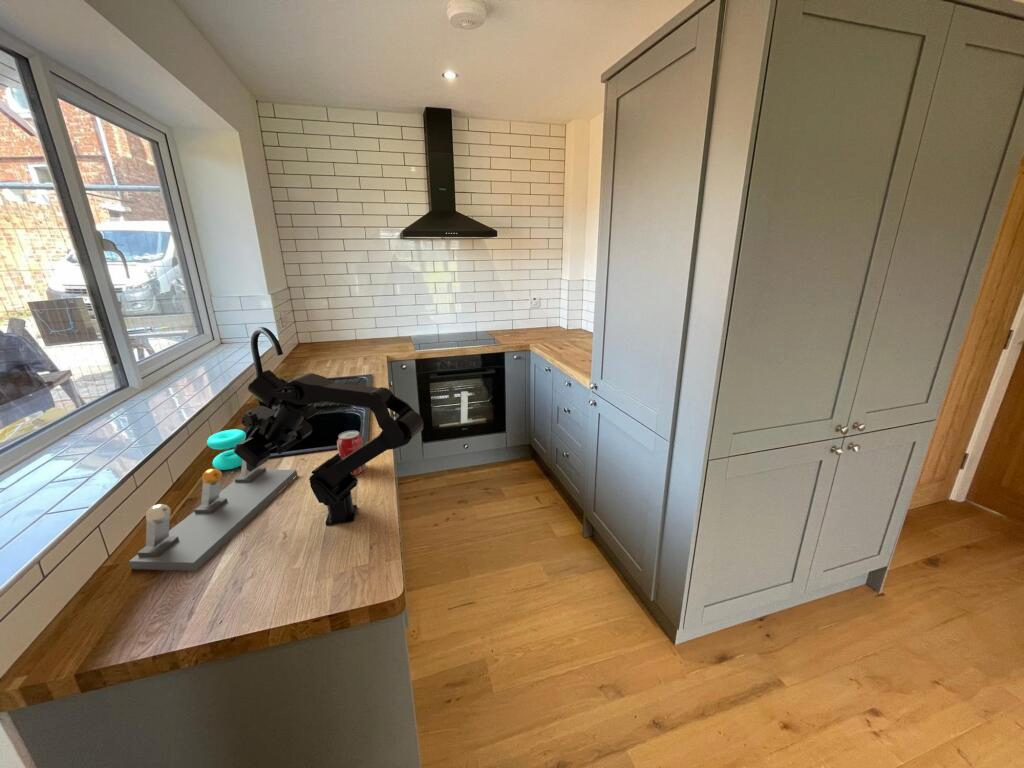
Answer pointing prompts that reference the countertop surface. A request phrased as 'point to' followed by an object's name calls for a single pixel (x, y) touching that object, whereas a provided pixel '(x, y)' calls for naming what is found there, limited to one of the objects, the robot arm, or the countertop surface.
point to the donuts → (224, 442)
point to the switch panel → (214, 522)
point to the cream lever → (157, 524)
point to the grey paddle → (244, 469)
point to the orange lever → (211, 486)
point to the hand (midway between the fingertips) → (264, 461)
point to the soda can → (350, 446)
